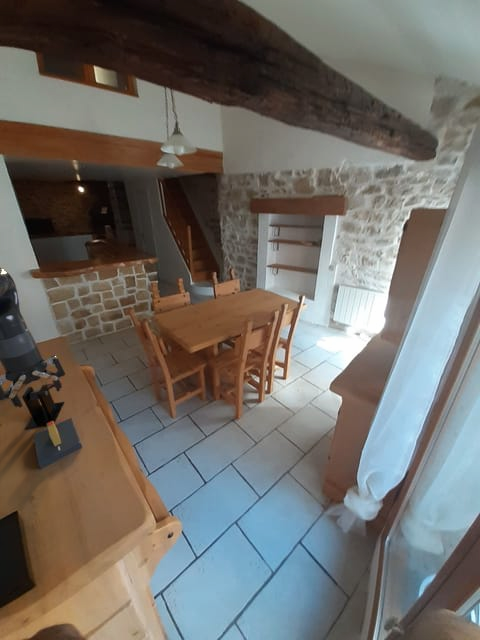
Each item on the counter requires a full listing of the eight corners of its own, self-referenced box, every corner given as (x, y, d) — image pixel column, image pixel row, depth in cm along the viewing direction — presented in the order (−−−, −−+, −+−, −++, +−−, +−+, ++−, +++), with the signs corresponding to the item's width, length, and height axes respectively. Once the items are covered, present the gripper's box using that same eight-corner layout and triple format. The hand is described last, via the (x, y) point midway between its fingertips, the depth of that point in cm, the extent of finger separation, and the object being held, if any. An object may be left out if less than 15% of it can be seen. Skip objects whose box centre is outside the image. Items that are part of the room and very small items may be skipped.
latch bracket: (39, 408, 88) (27, 382, 83) (65, 404, 90) (54, 378, 85) (26, 431, 80) (11, 404, 74) (54, 426, 81) (42, 399, 76)
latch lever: (46, 388, 91) (45, 382, 91) (62, 386, 92) (61, 380, 92) (25, 401, 78) (24, 393, 78) (43, 398, 80) (42, 391, 79)
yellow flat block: (61, 443, 73) (56, 432, 71) (54, 446, 72) (49, 435, 70) (57, 431, 76) (52, 420, 74) (51, 434, 75) (46, 423, 73)
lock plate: (83, 449, 75) (80, 442, 73) (42, 471, 69) (38, 463, 67) (74, 424, 82) (71, 417, 81) (36, 441, 77) (32, 434, 75)
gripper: (47, 332, 69) (66, 378, 76) (-24, 353, 60) (5, 403, 67) (54, 343, 64) (73, 391, 71) (-23, 367, 55) (8, 419, 62)
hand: (40, 397), depth 69 cm, fingers open, 8 cm apart
